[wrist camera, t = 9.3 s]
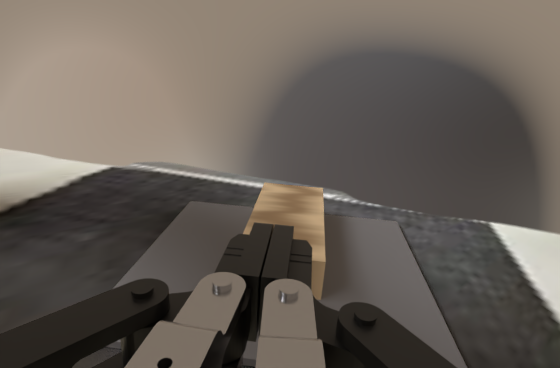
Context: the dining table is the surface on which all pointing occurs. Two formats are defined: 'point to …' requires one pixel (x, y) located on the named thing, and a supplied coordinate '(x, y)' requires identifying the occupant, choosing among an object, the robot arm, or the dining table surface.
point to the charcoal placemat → (337, 276)
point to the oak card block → (296, 220)
